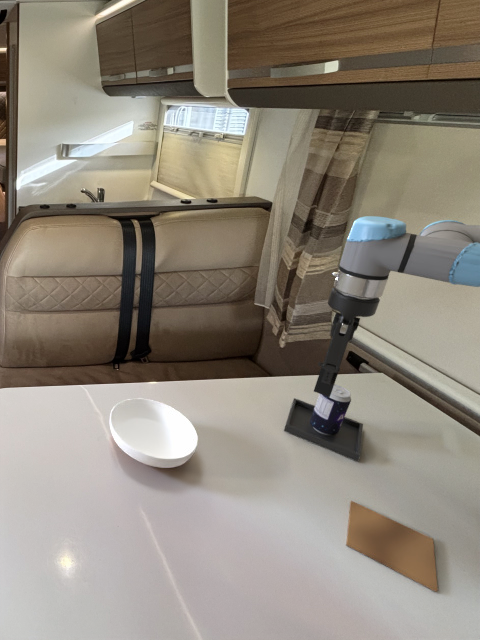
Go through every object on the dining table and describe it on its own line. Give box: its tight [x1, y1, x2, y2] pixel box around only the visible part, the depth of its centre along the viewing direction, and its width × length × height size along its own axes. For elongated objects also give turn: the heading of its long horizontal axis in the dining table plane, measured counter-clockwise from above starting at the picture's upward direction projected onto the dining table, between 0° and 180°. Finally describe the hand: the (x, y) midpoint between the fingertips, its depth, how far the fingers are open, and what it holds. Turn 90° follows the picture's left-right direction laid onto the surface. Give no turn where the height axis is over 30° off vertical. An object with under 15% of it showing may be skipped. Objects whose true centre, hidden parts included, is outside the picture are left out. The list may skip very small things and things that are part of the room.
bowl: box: [109, 397, 199, 469], centre depth 102 cm, size 20×20×6 cm
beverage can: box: [310, 383, 352, 435], centre depth 105 cm, size 6×6×12 cm
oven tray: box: [283, 398, 364, 463], centre depth 107 cm, size 14×13×2 cm
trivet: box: [345, 500, 439, 593], centre depth 81 cm, size 12×12×1 cm
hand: (326, 379), depth 94 cm, fingers open, 13 cm apart
